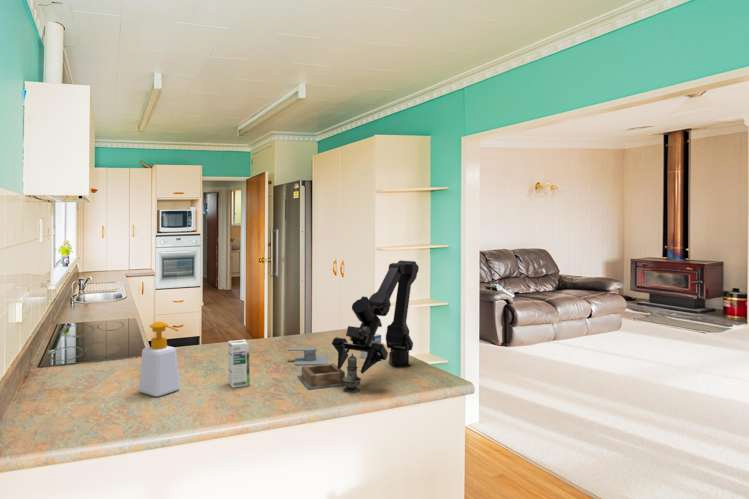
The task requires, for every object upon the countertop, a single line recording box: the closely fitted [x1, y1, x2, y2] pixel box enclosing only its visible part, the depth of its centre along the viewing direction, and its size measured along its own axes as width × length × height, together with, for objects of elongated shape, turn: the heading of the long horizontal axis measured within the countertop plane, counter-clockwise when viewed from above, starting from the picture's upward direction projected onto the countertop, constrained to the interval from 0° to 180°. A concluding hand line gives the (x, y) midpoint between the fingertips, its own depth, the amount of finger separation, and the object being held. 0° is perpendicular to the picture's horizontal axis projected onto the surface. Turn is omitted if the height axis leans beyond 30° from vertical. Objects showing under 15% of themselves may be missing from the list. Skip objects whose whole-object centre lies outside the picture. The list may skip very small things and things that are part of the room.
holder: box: [297, 362, 346, 390], centre depth 186 cm, size 14×14×4 cm
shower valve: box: [288, 346, 329, 367], centre depth 210 cm, size 12×6×15 cm
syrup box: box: [227, 339, 251, 389], centre depth 180 cm, size 6×6×14 cm
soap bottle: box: [138, 321, 181, 397], centre depth 171 cm, size 10×14×22 cm
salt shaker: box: [343, 353, 362, 394], centre depth 177 cm, size 6×6×12 cm
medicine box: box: [359, 333, 382, 359], centre depth 217 cm, size 8×4×9 cm, turn 139°
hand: (349, 370), depth 176 cm, fingers open, 8 cm apart
